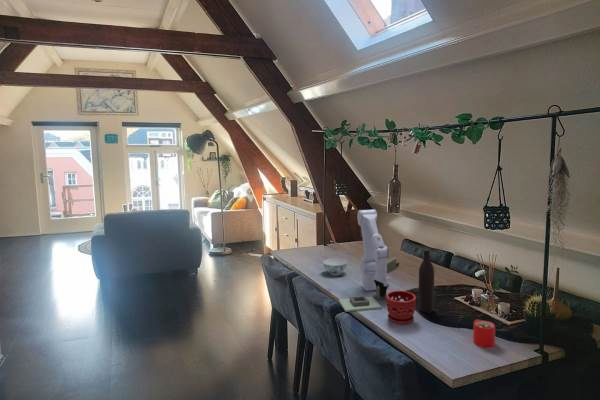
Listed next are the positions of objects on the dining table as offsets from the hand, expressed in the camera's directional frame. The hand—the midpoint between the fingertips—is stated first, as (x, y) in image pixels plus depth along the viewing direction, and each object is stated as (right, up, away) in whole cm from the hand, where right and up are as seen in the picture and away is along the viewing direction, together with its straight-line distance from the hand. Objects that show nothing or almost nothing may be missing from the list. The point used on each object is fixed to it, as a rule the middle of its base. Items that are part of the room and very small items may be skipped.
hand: (381, 294), depth 218 cm
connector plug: (0, -1, 0) cm, 1 cm away
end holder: (-13, -3, -9) cm, 16 cm away
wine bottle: (+18, -4, -18) cm, 26 cm away
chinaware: (-21, +3, +42) cm, 47 cm away
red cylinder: (+31, -7, -49) cm, 59 cm away
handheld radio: (+15, +5, +47) cm, 49 cm away
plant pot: (+3, -5, -28) cm, 29 cm away
